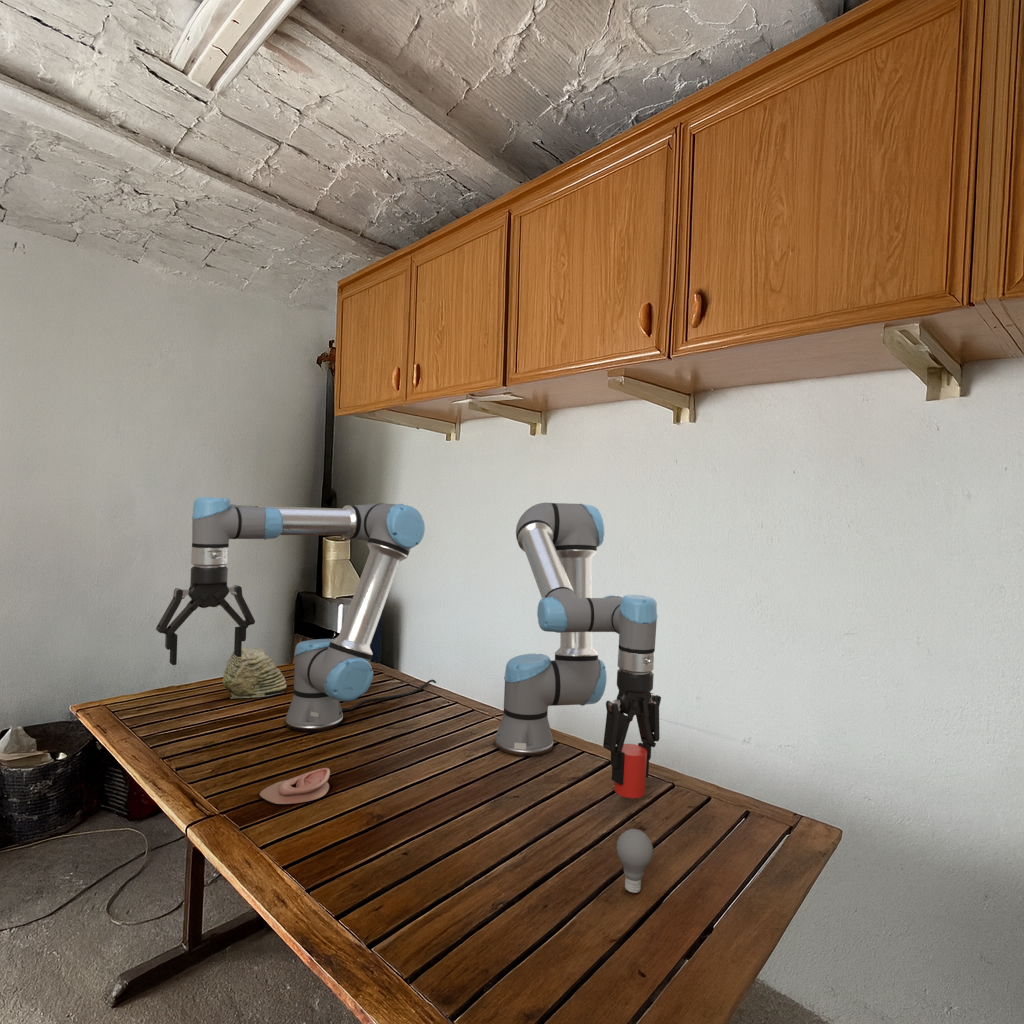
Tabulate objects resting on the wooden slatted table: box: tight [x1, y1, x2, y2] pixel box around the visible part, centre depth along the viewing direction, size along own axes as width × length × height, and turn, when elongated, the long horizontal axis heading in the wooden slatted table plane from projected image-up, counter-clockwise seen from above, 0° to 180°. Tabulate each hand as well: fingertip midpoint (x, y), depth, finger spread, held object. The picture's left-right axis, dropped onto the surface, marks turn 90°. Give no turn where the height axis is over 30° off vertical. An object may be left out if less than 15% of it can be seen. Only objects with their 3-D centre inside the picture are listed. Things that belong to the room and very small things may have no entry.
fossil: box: [222, 646, 288, 699], centre depth 198 cm, size 9×18×15 cm, turn 132°
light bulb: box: [615, 828, 654, 894], centre depth 106 cm, size 6×6×10 cm
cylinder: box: [613, 743, 647, 799], centre depth 133 cm, size 6×6×9 cm
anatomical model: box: [259, 767, 331, 805], centre depth 135 cm, size 13×4×12 cm
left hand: (206, 659), depth 143 cm, fingers open, 13 cm apart
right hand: (630, 778), depth 133 cm, fingers closed on cylinder, 6 cm apart
